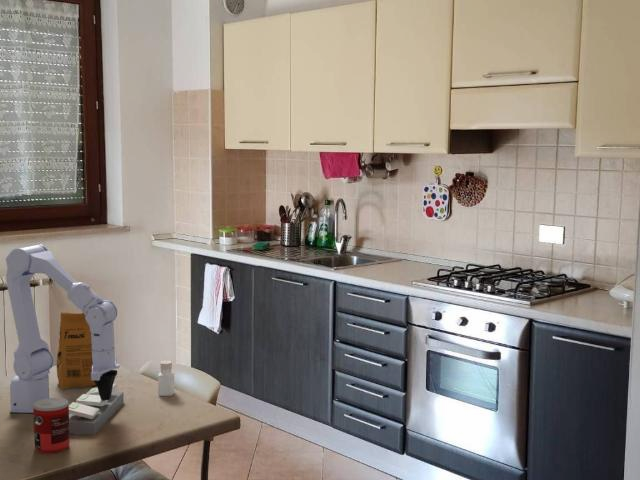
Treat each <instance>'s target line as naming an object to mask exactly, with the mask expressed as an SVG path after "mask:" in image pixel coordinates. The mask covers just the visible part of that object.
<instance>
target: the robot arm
mask: <svg viewBox="0 0 640 480" xmlns="http://www.w3.org/2000/svg"><path fill="white" fill-rule="evenodd" d="M5 262H6V267H7V269H6V274H5V275H6V276H5V281H6V285H7V290H8V296H9V300H10V306H11V309H12V314H13V315H12V316H13V321H14V323H15V324H14V325H15V329H16V330H15V331H16V334H17V338H18V345H17V347H16V349H15V350H14V352H13V357H14V361H13V371H14V373H15V376H13V377H12V379H11V381H10V385H9V392H10V393H9V394H10V395H9V396H10V398H9V399H10V400H9V401H10V410H9V413H25V414H27V413H28V414H31V413H32V414H33V404H34V403H35V402H36V401H39V400H42V399H47V398H50V377H49V375H50V373H51V372H50V370H51V368H53V367H54V364H55V359H54V355H53V353H52V351H51V350H50V347H49V344H48V342H46V341H45V340H43V339H42V337H41V334H40V329H39V323H38V319H37V314H36V309H35V304H34V300H33V295H32V289H31V284H30V282H31V280H32V278H33V277H34V276H35V275H36V274H43V275H46V276H47V277H48V278H50V280H52V281H53V282H54V283H56V284H57V285H58V286H59V287H60V288H62V289H63V290H64V291H65V292H66V293H67V299H68V300H69V301H70V302H71V303H72V304H73V305H74V306H75V307H77V309H78V310H79V311H80V312H81V313H84V314H85V315H86V316H85V319H86V321H87V323H88V324H89V326H90V331H91V342H92V361H93V365H92V373H91V380H93V381H94V382H95V384H96V386H95V387H97V388H98V391H99V395H100V398H101V400H109V399H110V398H111V394H112V388H113V384H115V379H116V377H117V375H118V370H116V369H119V368H120V367H121V364H120V363H118V362H117V360H118V359H117V357H116V350H115V349H116V347H115V346H116V345H115V327H114V321H115V320H116V319H117V317H118V309H117V307H116V305H115V304H114V302H113V301H111V300H106V299H104V298H103V297H102V296H99V295H98V294H97V293H96V292H95V291H94V290H92V288H91V285H90V284H88V283H85V282H83V281H82V282H78V281H76V279H74V278H73V276H71V275H70V273H69V272H68V271H66V269H65V268H64V267H63V266H62V265H61V264H60V263H59V262H58V261H57V259H55V257H54V254H53V252H52V251H50V250H48V248H47V247H46V246H45V245H44V244H39V243H37V244H34V245H31V246H25V247H19V248H17V247H16V248H14V249H12V250H11V251H10V252H9V254H8V255H7V256H6V258H5Z"/></svg>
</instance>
